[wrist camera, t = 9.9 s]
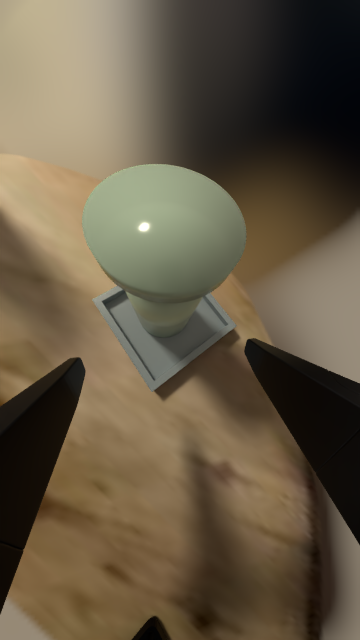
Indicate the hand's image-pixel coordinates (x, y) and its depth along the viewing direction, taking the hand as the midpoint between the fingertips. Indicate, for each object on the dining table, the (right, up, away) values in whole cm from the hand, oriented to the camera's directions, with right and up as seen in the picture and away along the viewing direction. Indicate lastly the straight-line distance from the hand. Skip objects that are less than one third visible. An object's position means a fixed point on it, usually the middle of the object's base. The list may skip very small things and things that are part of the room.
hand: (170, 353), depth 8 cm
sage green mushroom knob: (-1, +3, +9) cm, 10 cm away
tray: (-1, +2, +10) cm, 10 cm away
